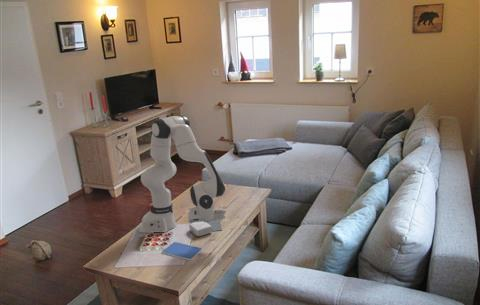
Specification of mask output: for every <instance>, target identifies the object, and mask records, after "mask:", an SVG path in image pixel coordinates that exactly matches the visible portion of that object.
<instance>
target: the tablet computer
mask: <svg viewBox="0 0 480 305" xmlns="http://www.w3.org/2000/svg"><path fill="white" fill-rule="evenodd" d="M203 251H204V248H202V247H198V246H195V245H190V244H186V243H181V242H177V241H174V242H172V243H171V244H169V245H168V246H167V247H165V248H164V249H163V250H161V254H162V253H163V254H162V255H166V254H167V256H170V257H174V258H179V259H183V260H186V261H193V260H194V259H195V258H196V257H198V255H199V254H200V253H201V252H203Z"/></svg>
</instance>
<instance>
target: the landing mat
mask: <svg viewBox="0 0 480 305" xmlns="http://www.w3.org/2000/svg"><path fill="white" fill-rule="evenodd" d="M221 222H222V221H221V220H212V221H209V222H207V223H208V224H209V225H211V227H212V228H213V230H212V232H218V231H219V232H221V231H223V228H222V223H221ZM193 223H194V222H193ZM190 234H194V233H193V232H192V231H191V230H190Z"/></svg>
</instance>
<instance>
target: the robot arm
mask: <svg viewBox="0 0 480 305" xmlns="http://www.w3.org/2000/svg"><path fill="white" fill-rule="evenodd" d="M150 128H151V129H150V131H151V138H150V157H151V158H152V159H153V160H154V161H155V165H153V166H152V167H149V168H147V169H146V170H144V171H143V173H142V174H141V175H140V181H141V184H142V185H143V186H144V187H145V188H147V189H149V192H150V194H151V201H152V202H151V203H149V211H148V212H146V214H144V215H143V217H142V219H141V222H140V223H139V225H138V232H139V233H141V234H155V233H154V232H165V233H167V232H168V231H169V230H173V229H174V228H175V227H176V226H177V222H176V219H175V216H174V205H173V202H172V193H171V190H170V189H169V188H167V187H166V186H165V182H166V181H168V180H170V179H172V178H173V177H174V176H175V174H176V173H177V166H176V164H175V163H174V162H173V161H172V159H171V147H172V146H171V143H172V140H173V142H174V145H175V149H176V152H177V154H178V156H179V158H180V159H182V160H184V161H186V162H197V163H201V164H203V165H204V166H205V168H206V170H207V172H208V174H209V176H210V179H207V180H205V181H202V182H198V183H195V184H192V185H191V187H190V189H189V192H190V193H189V194H190V200H191V203H192V204H193V205H194V206H195V207H191V208H190V209H189V211H188V214H187V221H188V222H187V223H190V224H191V223H193V222H202V221H203V222H204V223H205V222H209V221H212V220H220V221H221V220H225V219H226V210H224V209H222V208H221V209H220V208H219V209H215V208H216V204H215V200H214V198H219V197H222V196H223V195H224V193H225V192H226V186H225V183H224V181H223V180H222V179H221V176H220V175H219V173H218V171H217V169H216V167H215V165H214V163H213V161H212V159H211V158H210V155H209V154H208V153H207V151H206V150H204V149H202V148H201V147H199V145H198V143H197V139H196V137H195V135H194V132H193V131H192V128H191V124H190V120H189V119H188V117H187V116H184V115H173V116H168V117H163V118H157V119H155V120H154V121H152V123H151V127H150Z"/></svg>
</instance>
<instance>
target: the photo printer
mask: <svg viewBox="0 0 480 305" xmlns="http://www.w3.org/2000/svg"><path fill="white" fill-rule="evenodd" d="M188 226H189V230H190V232H191V231H192V232H193V233H192V234H194V235H195V236H197V237H201V236H203V235H208V234H210V233H212V232H213V231H212V230H213V228H212V227H211V225H209V224H208V223H207V222H205V223H204V222H203V221H202V222H194V223H190V224H189V225H188Z"/></svg>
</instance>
